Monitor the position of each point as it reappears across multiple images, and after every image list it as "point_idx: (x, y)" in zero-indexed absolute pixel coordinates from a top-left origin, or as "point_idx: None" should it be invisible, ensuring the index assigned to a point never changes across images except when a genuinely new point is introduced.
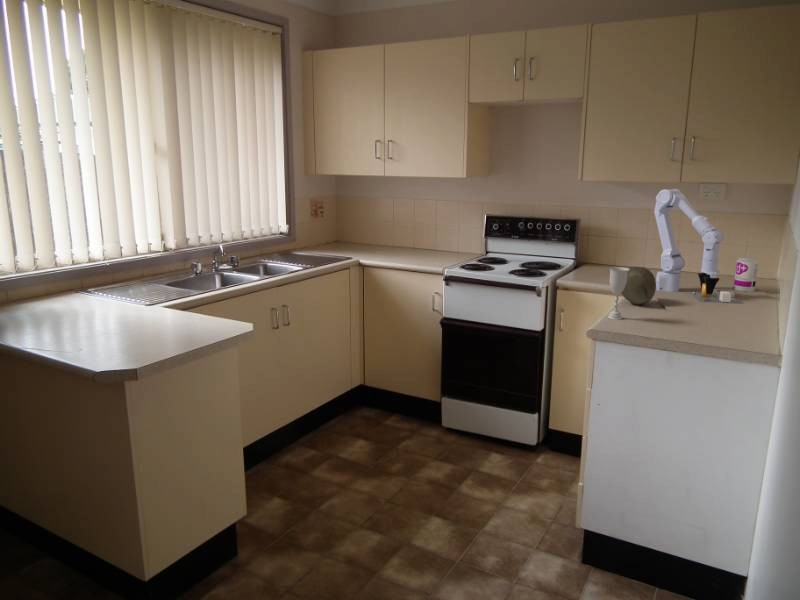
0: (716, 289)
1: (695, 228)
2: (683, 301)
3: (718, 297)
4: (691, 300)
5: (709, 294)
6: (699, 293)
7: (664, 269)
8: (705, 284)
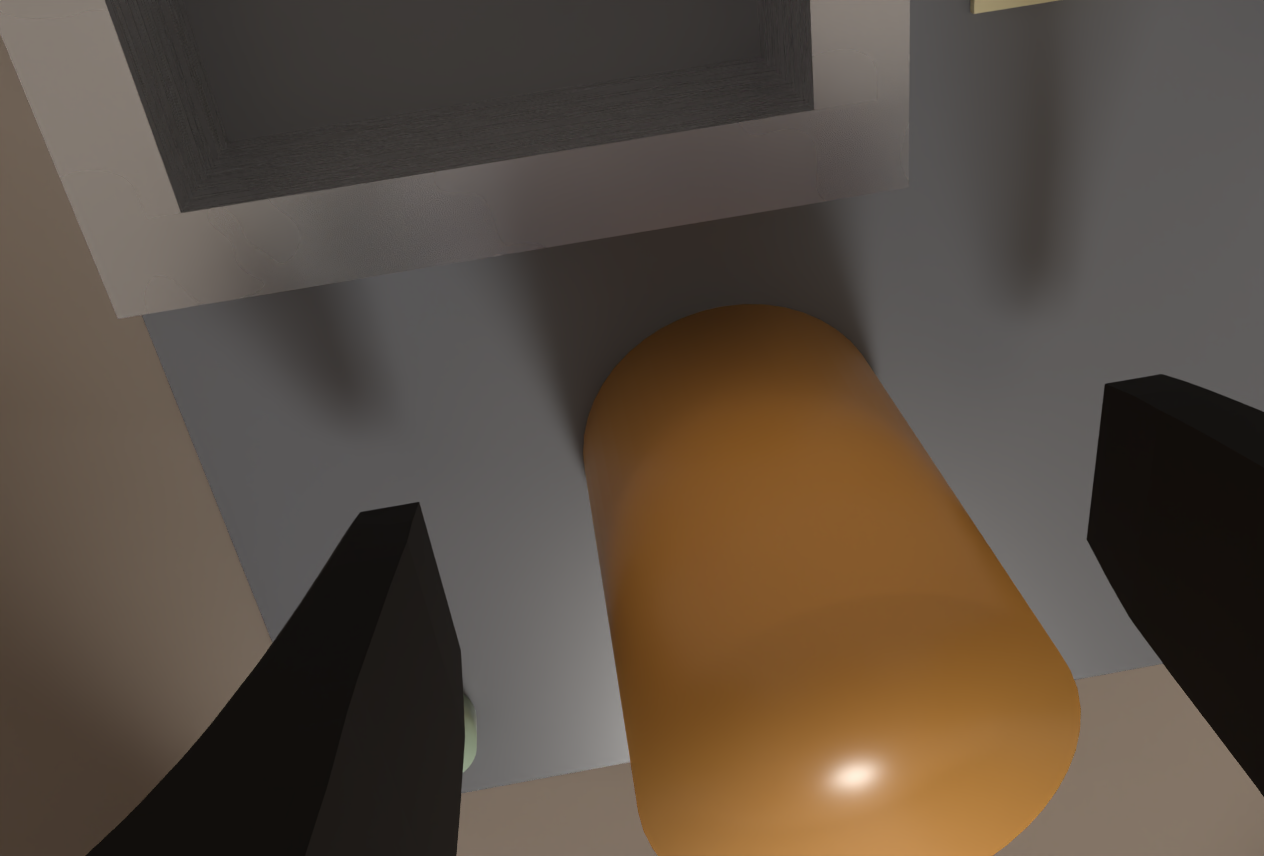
0: (43, 117)
1: None
2: (1205, 823)
3: None
4: None
5: (894, 403)
6: None
7: None
8: (931, 827)
